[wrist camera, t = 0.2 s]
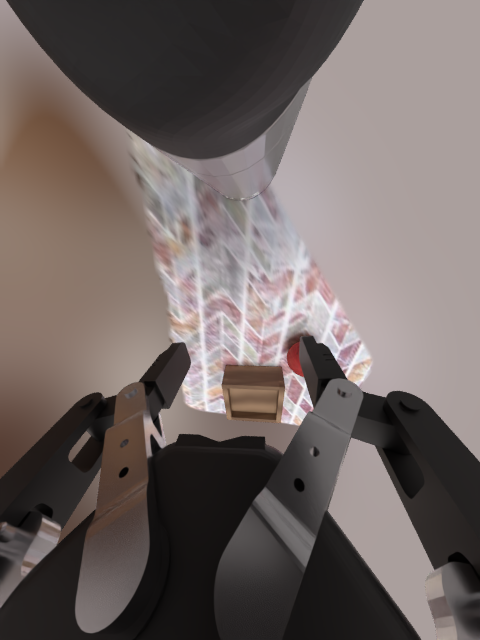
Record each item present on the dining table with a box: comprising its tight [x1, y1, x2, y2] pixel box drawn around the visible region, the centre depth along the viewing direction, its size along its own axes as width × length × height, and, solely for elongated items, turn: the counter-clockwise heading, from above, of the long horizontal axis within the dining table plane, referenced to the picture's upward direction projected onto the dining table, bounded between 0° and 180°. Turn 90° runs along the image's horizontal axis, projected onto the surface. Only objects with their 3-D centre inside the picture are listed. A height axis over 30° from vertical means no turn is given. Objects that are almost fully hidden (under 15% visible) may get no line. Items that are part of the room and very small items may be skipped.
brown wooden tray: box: [222, 365, 285, 423], centre depth 37 cm, size 12×12×6 cm
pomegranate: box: [287, 342, 304, 377], centre depth 29 cm, size 6×6×8 cm
